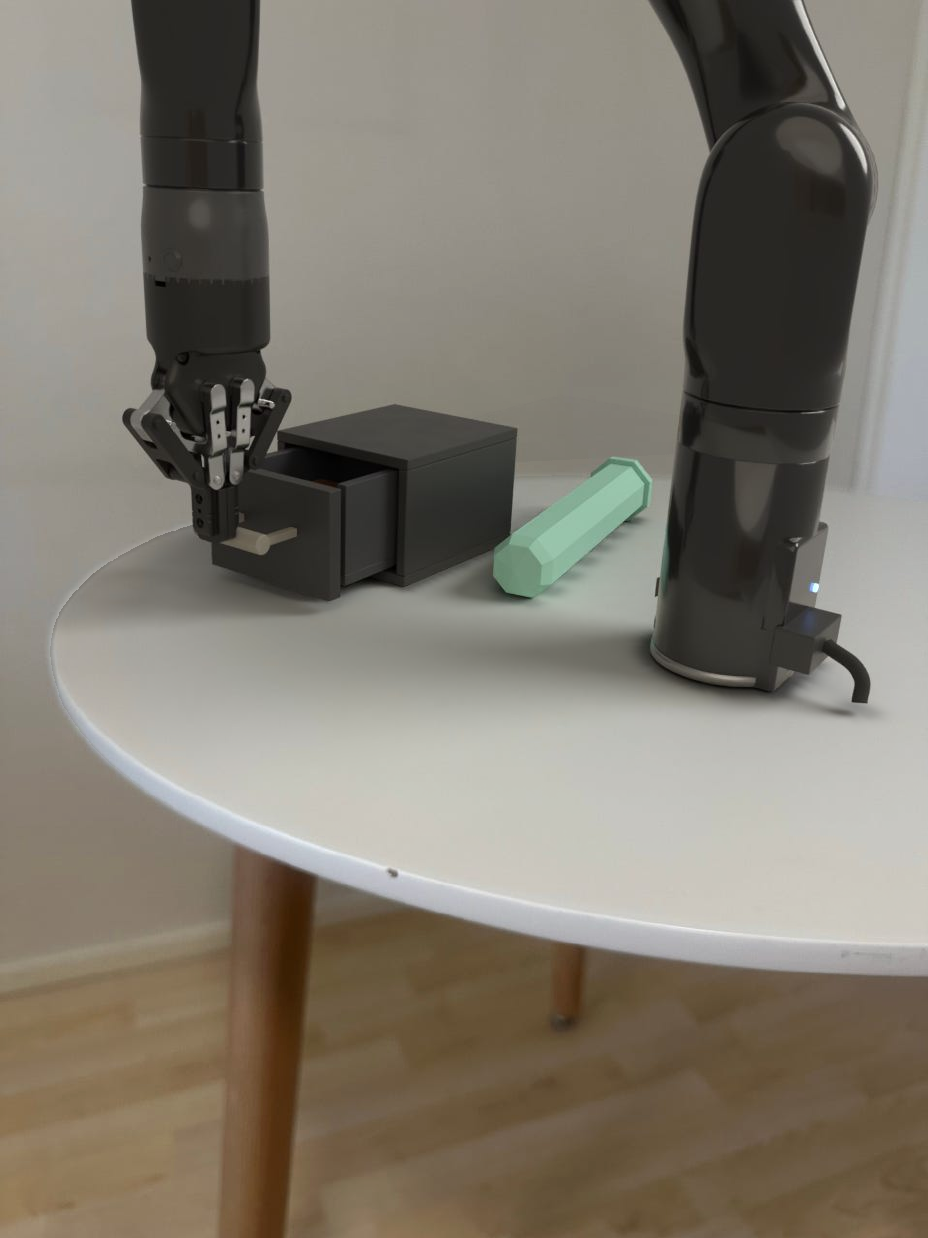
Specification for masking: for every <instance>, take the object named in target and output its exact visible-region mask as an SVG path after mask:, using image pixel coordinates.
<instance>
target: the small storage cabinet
mask: <svg viewBox="0 0 928 1238" xmlns="http://www.w3.org/2000/svg"><path fill="white" fill-rule="evenodd" d="M518 430H519V429H518V427H514V426H508V425H503V424H498V423H493V422H489V421H484V420H478V419H472V418H467V417H463V416H457V415H453V414H448V413H444V412H443V413H442V412H437V411H432V410H427V409H423V408H416V407H412V406H407V405H403V404H397V403H393V404H388V405H384V406H380V407H376V408H370V409H366V410H362V411H357V412H354V413H348V414H344V415H340V416H335V417H331V418H327V419H322V420H318V421H314V422H313V421H312V422H310V423H309V422H308V423H304V424H300V425H296V426H292V427H288V428H282V429H278V430H277V432H276V440H277V443H276V445H277V446H276V447H277V449H276V451H279V450H283V449H287V448H291V447H295V446H303V447H307V448H311V449H316V450H320V451H324V452H329V453H333V454H337V455H342V456H346V457H350V458H355V459H359V460H363V461H367V462H372V463H376V464H380V465H385V466H389V467H393V468H398V469H400V470H399V497H398V533H397V565H395V566H393V567H390V568H388V569H385V570H383V571H380V572H378V573H375V574H373V575H371V576H369V578H373V579H377V580H380V581H384V582H387V583H389V584H394V585H397V586H400V587H405V588H406V587H407V586H409V585H411V584H414V583H416V582H419V581H421V580H423V579H426V578H429V577H430V576H432V575H434V574H435V575H436V574H437V573H439V572H441V571H444V570H446V569H449V568H451V567H454V566H456V565H458V564H460V563H463V562H465V561H467V560H470V559H472V558H474V557H477V556H479V555H481V554H484V553H486V552H489V551H491V550H494V548H495V547H496V546H498V545H499V544H500V543H501V542H503V541H504V540H505V539H506V538H508V537H509V536H510V535H511V534H512V533H511V531H512V521H513V519H512V518H513V504H514V503H513V502H514V489H515V474H516V473H515V472H516V471H515V470H516V457H517V443H518Z"/></svg>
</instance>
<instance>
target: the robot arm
mask: <svg viewBox="0 0 928 1238" xmlns="http://www.w3.org/2000/svg"><path fill="white" fill-rule="evenodd" d="M647 2H648V3H649V6H650V7H651V9H652V11H653V13H654V14H655V16H656V17H657V20H658V21H659V22H660V24H661V26H662V27H663V29H664V31H665V33H666V34H667V36H668V38H669V40H670V42H671V43H672V46H673V48H674V50H675V51H676V53H677V55H678V59H679V60H680V62H681V65H682V68H683V71H684V73H685V74H686V78H687V81H688V83H689V87H690V89H691V92H692V96H693V98H694V103H695V105H696V108H697V112H698V115H699V119H700V122H701V125H702V130H703V134H704V137H705V141H706V144H707V148H708V152H709V155H708V156H707V157H706V158H707V159H706V160H705V163H704V165H703V168H702V170H701V174H700V177H699V182H698V187H697V191H696V194H695V195H696V196H695V202H694V209H693V216H692V224H691V225H692V226H691V235H690V244H689V245H690V246H689V254H688V265H687V266H688V267H687V274H686V275H687V276H686V288H685V297H684V298H685V299H684V307H683V319H682V347H683V353H684V354H683V355H684V371H683V380H682V392H681V400H680V409H679V416H678V425H677V426H678V427H677V433H676V441H675V449H674V459H673V465H672V473H671V482H670V489H669V491H670V492H669V499H668V508H667V517H666V524H665V533H664V540H663V547H662V556H661V565H660V573H659V576H658V577H656V582H655V591H654V598H657V600H656V609H655V615H654V620H653V633H652V635H651V638H650V644H649V650H650V654H651V656H652V657H653V659H654V660H655V661H656V662H657V663H658V664H659V665H660V666H663V667H664V668H665V669H667V670H668V671H671V672H672V673H675V674H677V675H680V676H682V677H685V678H687V679H691V680H694V681H697V682H698V681H699V682H701V683H706V684H711V685H716V686H722V687H731V688H732V687H734V688H756V689H760V690H764V691H766V692H774V691H776V690H777V689H778V688H779V687H780V686H781V685H782V684H783V683H785V682H786V681H787V680H788V679H789V678H791V677H792V676H794V674H795V672H796V673H799V674H803V675H806V676H809V675H810V674H811V673H812V672H814V671H815V670H816V669H817V668H818V667H819V666H820V665H821V664H822V663H823V662H824V661H825V660H826V659H827V658H828V657H829V658H831V659H832V660H833V661H835V662H837V663H838V664H840V665H841V666H842V667H843V668H845V669H846V670H847V671H848V673H849V674H850V676H851V677H852V679H853V690H852V695H851V703H852V704H853V703H854V704H868V703H869V698H870V697H869V696H870V693H871V687H872V685H871V677H870V674H869V672H868V670H867V668H866V666H865V665H864V664H863V662H862V660H860V659H859V658H858V657H857V656H856V655H855V654H853V653H852V652H850V651H849V650H847V649H845V648H844V647H842V646H841V645H840V644H838V639H839V633H840V627H841V622H842V618H843V617H842V616H843V615H842V614H841V613H837V612H834V611H829V610H825V609H821V608H818V607H816V604H817V598H818V592H819V588H820V587H819V586H820V580H821V575H822V568H823V563H824V557H825V551H826V546H827V541H828V534H829V525H828V524H827V523H826V522H824V521H821V514H822V508H823V503H824V497H825V491H826V485H827V479H828V475H829V469H830V468H829V467H830V463H831V454H832V452H833V451H832V450H833V445H834V440H835V434H836V427H837V421H838V416H839V409H840V403H841V400H842V399H841V398H842V392H843V387H844V382H845V377H846V376H845V375H846V370H847V365H848V364H847V363H848V351H849V350H848V349H849V343H850V342H849V341H850V333H851V325H852V320H853V319H852V317H853V312H854V305H855V300H856V294H857V288H858V283H859V276H860V271H861V265H862V260H863V253H864V246H865V242H866V236H867V232H868V231H867V230H868V225H869V224H870V222H871V219H872V216H873V214H874V211H875V209H876V205H877V200H878V193H879V171H878V166H877V162H876V158H875V154H874V152H873V150H872V148H871V146H870V143H869V142H868V139H867V138H866V136H865V135H864V133H863V132H862V130H861V128H860V126H859V125H858V123H857V121H856V119H855V117H854V115H853V113H852V111H851V108H850V106H849V105H848V103H847V101H846V98H845V96H844V94H843V92H842V89H841V88H840V86H839V83H838V81H837V79H836V76H835V75H834V72H833V70H832V68H831V67H832V66H831V65H830V63H829V61H828V58H827V55H826V54H825V52H824V49H823V47H822V44H821V42H820V40H819V37H818V36H817V33H816V31H815V28H814V25H813V23H812V19H811V17H810V14H809V12H808V9H807V6H806V2H805V0H647ZM130 7H131V16H132V24H133V32H134V42H135V48H136V56H137V64H138V70H139V77H140V99H139V100H140V103H139V104H140V105H139V136H140V137H139V140H140V143H139V144H140V158H141V159H140V161H141V179H142V184H143V186H142V201H141V203H142V204H141V214H140V245H141V261H142V279H143V281H142V282H143V299H144V315H145V333H146V340H147V342H148V343H149V344H150V346H151V348H152V350H153V352H154V356H155V362H154V367H153V370H152V373H151V376H150V388H151V391H152V392H151V393H150V394H149V395H148V396H147V397H146V399H144V401H143V403H142V404H141V405H140V406H139V408H135V407H134V408H133V407H128V408H126V409H125V410H124V411H123V413H122V417H121V420H122V424H123V426H124V427H125V429H127V431H128V432H129V433H130V435H131V436H132V438H134V440H135V441H136V442H137V444H138V445H139V446H140V448H141V449H143V451H144V452H145V453H146V454H147V456H148V457H149V459H150V460H151V461H152V463H153V464H154V465H155V466H156V468H157V469H158V470H159V472H160V473H161V474H162V475H163V476H164V477H165V478H166V479H168V480H172V481H178V482H181V483H184V484H185V483H186V484H187V485H189V488H190V495H191V496H190V497H191V516H192V518H191V519H192V523H191V524H192V529H193V528H194V531H195V533H197V535H198V536H197V537H198V538H199V539H200V540H202V541H205V542H208V543H211V542H212V543H215V544H218V543H221V542H224V541H227V540H231V539H234V538H235V536H236V529H237V527H238V523H239V513H238V512H239V507H238V506H239V501H238V484H239V483H240V482H241V481H242V479H243V475H244V474H245V473H246V472H247V471H249V470H250V469H252V470H257V469H259V468H260V466H261V464H262V462H263V460H264V458H265V456H266V454H267V453H268V452H269V449H270V447H271V445H272V443H273V441H274V439H275V436H277V431H278V430H279V428H280V426H281V425H282V422H283V420H284V418H285V415H286V414H287V411H288V409H289V407H290V405H291V402H292V398H293V396H292V392H291V391H290V390H289V389H287V388H283V387H277V386H276V385H275V384H274V383H273V382H271V381H270V380H269V379H268V378H267V377H266V376H267V366H266V364H265V361H264V359H263V356H262V352H261V351H262V350H263V349H266V348H267V347H268V346H269V344H270V343H271V296H270V294H271V290H270V289H271V288H270V287H271V286H270V234H269V224H268V216H267V210H266V202H265V191H264V188H265V184H264V183H265V179H264V177H265V175H264V135H263V133H264V132H263V121H262V113H261V104H260V97H259V90H258V80H259V78H258V77H259V57H260V32H261V0H130ZM252 437H253V440H252V442H251V438H252ZM202 458H203V459H202Z"/></svg>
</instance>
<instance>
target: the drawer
mask: <svg viewBox="0 0 928 1238" xmlns="http://www.w3.org/2000/svg"><path fill="white" fill-rule="evenodd" d="M399 470H400V469H398V468H393V467H389V466H385V465H380V464H376V463H372V462H367V461H363V460H359V459H355V458H350V457H346V456H342V455H337V454H333V453H329V452H324V451H320V450H316V449H311V448H307V447H303V446H295V447H291V448H287V449H283V450H279V451H277V450H276V451H275V450H274V451H271V452H267V454H266V456H265V458H264V460H263V462H262V464H261V466H260V468H259V469H257V470H252V469H250V470H249V471H247V472H246V473H245V474H244V475H243V479H242V481H241V482H240V483H239V484H238V501H239V506H238V507H239V512H238V513H239V523H238V527H237V529H236V536H235V538H234V539H231V540H227V541H224V542H221V543H218V544H215V543H212V542H210V543H211V544H210V547H211V565H213V566H216V567H219V568H222V569H225V570H228V571H232V572H234V573H238V574H240V575H244V576H248V577H250V578H252V579H253V578H254V579H257V580H260V581H263V582H266V583H269V584H272V585H276V586H278V587H282V588H285V589H288V590H291V591H295V592H298V593H300V594H304V595H306V596H310V597H313V598H317V599H318V600H323V601H326V602H333V601H335V600H337V599H340V598H341V586H344V587H345V586H348V585H350V584H354V583H355V582H358V581H360V580H363V579H365V578H368V577H370V576H371V575H373V574H375V573H378V572H380V571H383V570H385V569H388V568H390V567H393V566H395V565H397V533H398V497H399ZM317 479H324V480H328V481H332V482H336V483H339V484H337V488H334V487H330V486H327V485H323V484H319V483H315V482H311V481H314V480H317ZM192 532H193V534H194V535H195V536H196V537H198V535H197V533H195V531H194V528H193V527H192Z"/></svg>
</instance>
